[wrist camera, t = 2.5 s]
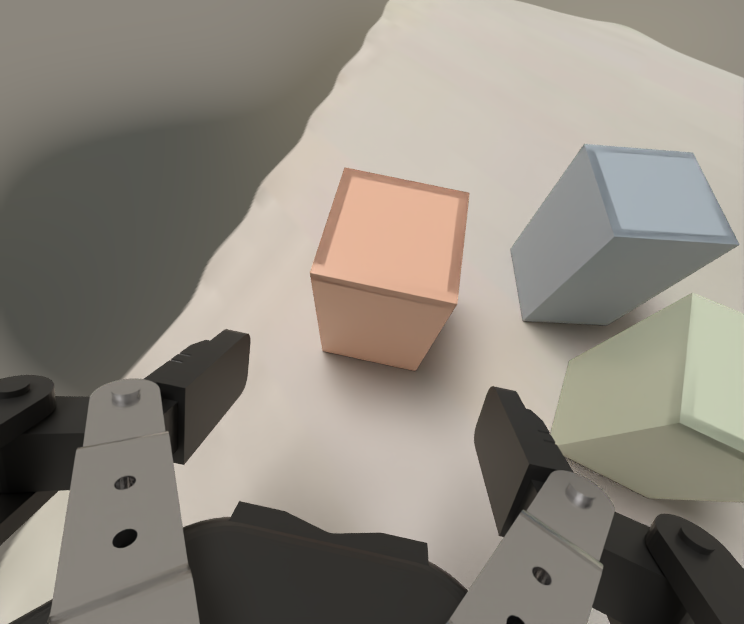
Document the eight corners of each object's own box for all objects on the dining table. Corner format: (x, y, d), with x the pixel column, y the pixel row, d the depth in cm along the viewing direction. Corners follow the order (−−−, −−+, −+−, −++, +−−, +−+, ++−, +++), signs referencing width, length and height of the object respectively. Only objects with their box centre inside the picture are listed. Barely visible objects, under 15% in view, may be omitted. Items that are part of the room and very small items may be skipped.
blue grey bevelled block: (587, 253, 30) (692, 152, 21) (606, 325, 27) (739, 244, 18) (510, 248, 29) (584, 143, 20) (522, 321, 26) (614, 236, 17)
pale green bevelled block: (660, 403, 24) (844, 355, 15) (648, 498, 22) (861, 507, 13) (569, 361, 25) (692, 292, 16) (546, 447, 23) (679, 422, 14)
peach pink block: (427, 290, 27) (469, 192, 18) (415, 371, 24) (457, 303, 15) (344, 272, 27) (344, 167, 18) (322, 351, 24) (309, 272, 15)
